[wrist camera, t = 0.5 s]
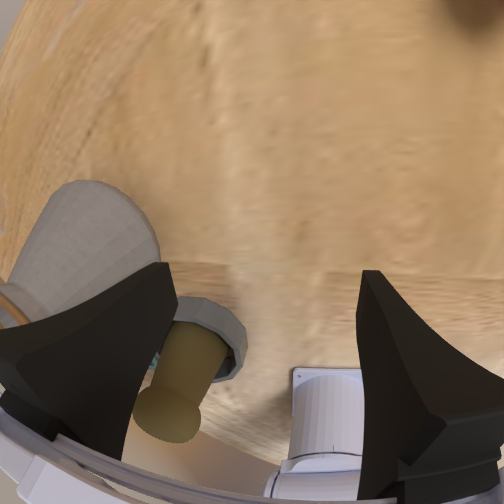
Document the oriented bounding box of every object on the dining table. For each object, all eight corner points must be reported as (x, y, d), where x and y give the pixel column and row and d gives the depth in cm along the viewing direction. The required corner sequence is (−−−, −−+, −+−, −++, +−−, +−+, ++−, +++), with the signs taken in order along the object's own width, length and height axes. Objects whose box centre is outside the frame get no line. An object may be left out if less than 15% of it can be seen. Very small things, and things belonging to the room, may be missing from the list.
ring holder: (250, 367, 29) (245, 387, 27) (171, 357, 31) (163, 374, 29) (241, 300, 25) (234, 321, 23) (148, 293, 26) (136, 311, 24)
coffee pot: (161, 161, 20) (-14, 289, 7) (186, 296, 26) (104, 450, 13) (0, 185, 24) (-102, 255, 11) (31, 275, 30) (-47, 356, 17)
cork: (216, 362, 30) (182, 457, 20) (163, 333, 29) (115, 424, 20) (245, 331, 26) (211, 442, 17) (184, 297, 26) (128, 401, 16)
